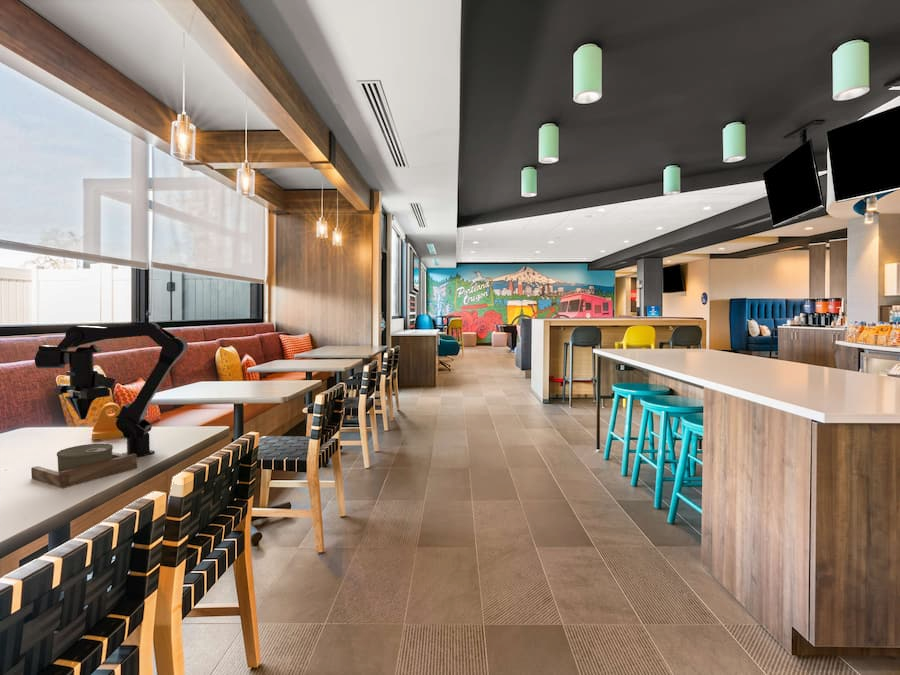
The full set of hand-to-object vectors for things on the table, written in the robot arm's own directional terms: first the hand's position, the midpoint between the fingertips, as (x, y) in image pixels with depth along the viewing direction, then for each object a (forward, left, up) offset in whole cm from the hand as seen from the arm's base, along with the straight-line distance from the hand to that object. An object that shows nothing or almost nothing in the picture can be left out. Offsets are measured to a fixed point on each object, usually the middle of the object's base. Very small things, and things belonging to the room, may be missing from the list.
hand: (82, 419), depth 140 cm
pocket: (-15, +7, -12) cm, 20 cm away
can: (-16, +7, -12) cm, 22 cm away
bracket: (+20, -18, -12) cm, 30 cm away
